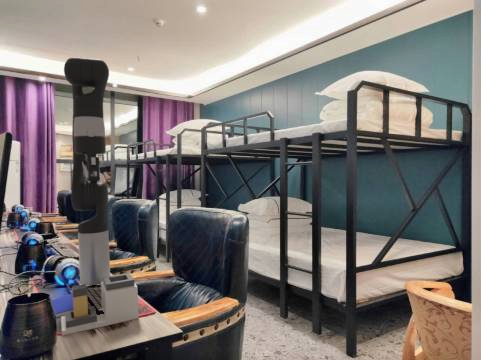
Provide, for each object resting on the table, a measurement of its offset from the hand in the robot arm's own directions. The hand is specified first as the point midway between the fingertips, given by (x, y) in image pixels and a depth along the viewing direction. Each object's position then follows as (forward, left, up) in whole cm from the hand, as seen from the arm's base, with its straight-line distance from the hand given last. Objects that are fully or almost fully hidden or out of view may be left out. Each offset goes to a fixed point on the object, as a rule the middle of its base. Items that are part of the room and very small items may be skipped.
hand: (92, 197), depth 90 cm
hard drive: (-7, -7, -31) cm, 32 cm away
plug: (+7, -4, -29) cm, 30 cm away
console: (+7, 0, -30) cm, 31 cm away
